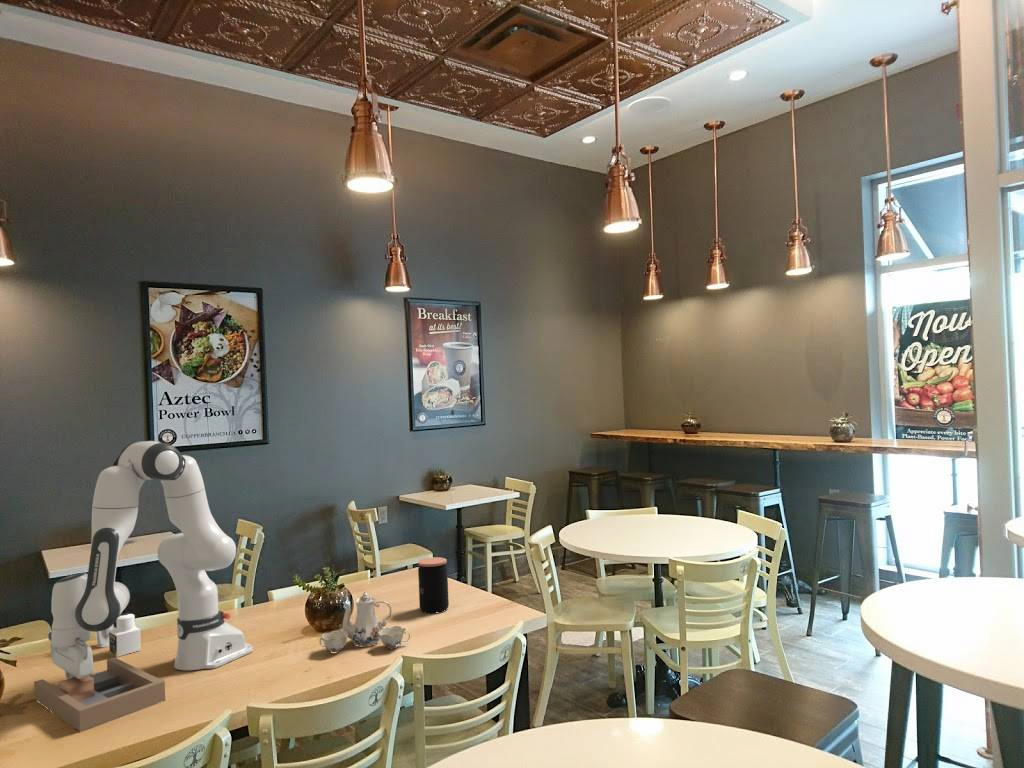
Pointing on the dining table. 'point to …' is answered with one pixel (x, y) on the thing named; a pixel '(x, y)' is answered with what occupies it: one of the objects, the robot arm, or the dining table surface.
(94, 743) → the dining table surface
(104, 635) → the cup with straw
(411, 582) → the dining table surface
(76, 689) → the terracotta block
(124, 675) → the box
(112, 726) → the dining table surface
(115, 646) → the medicine bottle
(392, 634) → the chinaware
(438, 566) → the coffee jar
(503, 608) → the dining table surface
